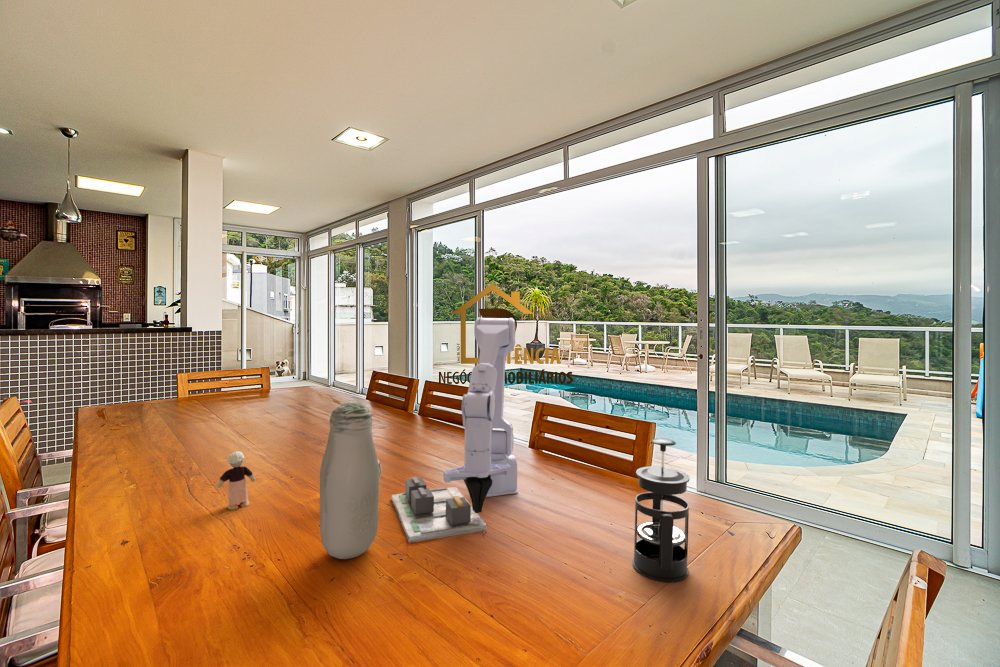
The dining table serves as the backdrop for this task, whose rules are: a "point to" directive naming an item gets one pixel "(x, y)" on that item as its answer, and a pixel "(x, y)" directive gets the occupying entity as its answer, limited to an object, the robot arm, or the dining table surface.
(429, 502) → the breaker
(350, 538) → the glass bottle
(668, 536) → the french press
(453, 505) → the block
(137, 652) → the dining table surface
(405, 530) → the breaker panel
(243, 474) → the grandmother figurine
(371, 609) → the dining table surface
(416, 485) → the breaker
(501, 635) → the dining table surface
